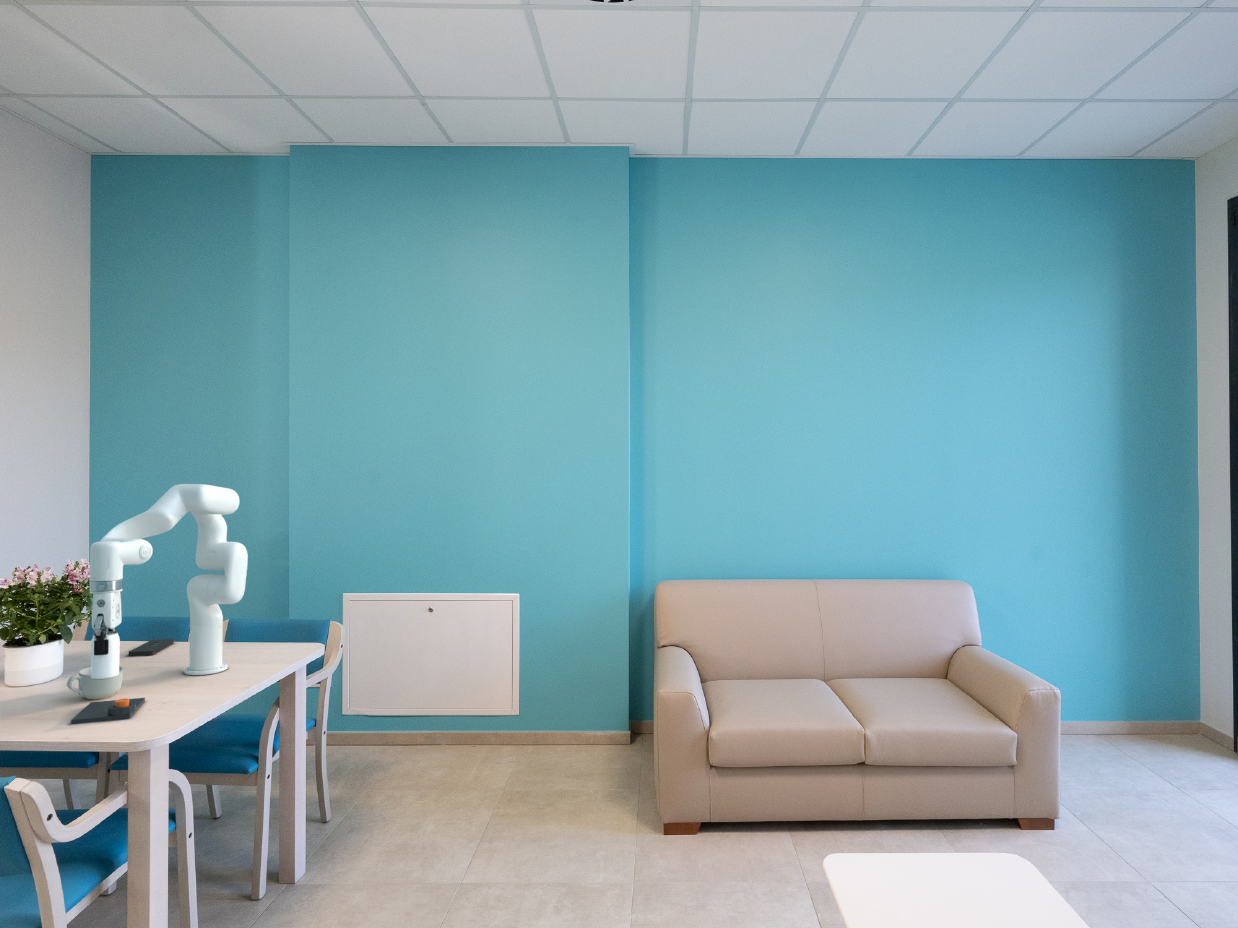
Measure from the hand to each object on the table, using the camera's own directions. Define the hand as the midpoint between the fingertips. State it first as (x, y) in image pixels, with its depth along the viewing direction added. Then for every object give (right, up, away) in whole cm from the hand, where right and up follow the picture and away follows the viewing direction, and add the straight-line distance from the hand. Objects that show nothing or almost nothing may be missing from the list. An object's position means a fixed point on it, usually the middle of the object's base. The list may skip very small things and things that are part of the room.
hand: (105, 651), depth 204 cm
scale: (+3, -16, -2) cm, 17 cm away
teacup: (-11, -16, +11) cm, 22 cm away
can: (0, -7, 0) cm, 7 cm away
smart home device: (-31, -17, +70) cm, 79 cm away
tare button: (+8, -13, -6) cm, 17 cm away
